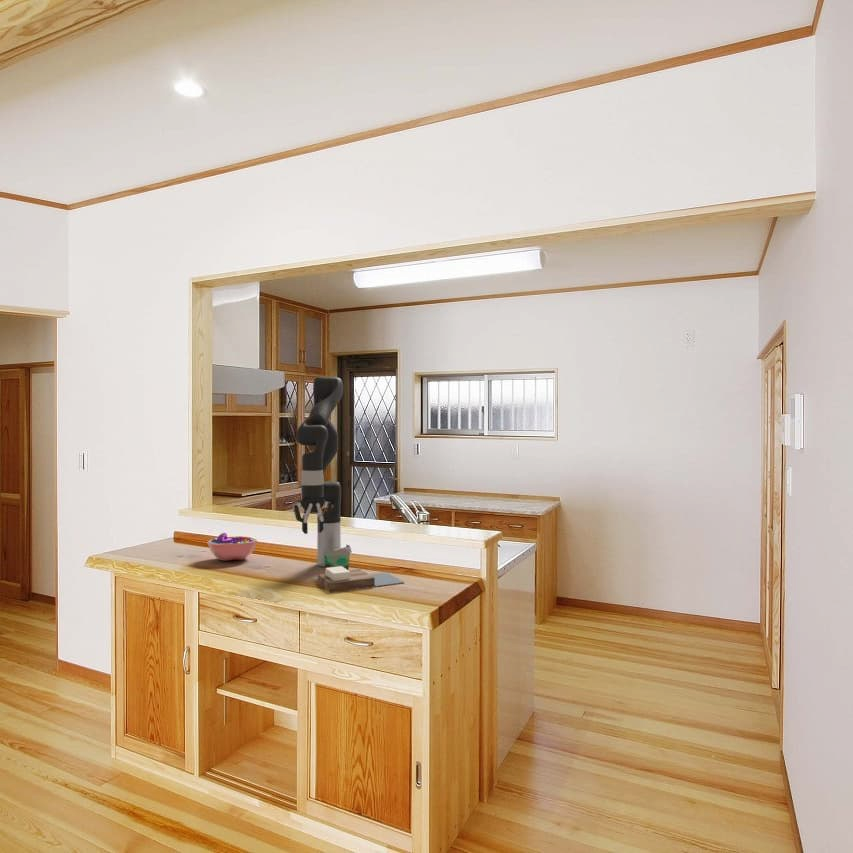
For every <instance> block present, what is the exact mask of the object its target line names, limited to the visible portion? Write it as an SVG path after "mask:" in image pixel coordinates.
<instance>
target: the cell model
mask: <svg viewBox="0 0 853 853" xmlns="http://www.w3.org/2000/svg"><path fill="white" fill-rule="evenodd" d="M206 543H207V545H208V547H209V550H210V552H211V554H212V555H213V556H214V557H215V558H216V559H219V560H220V561H223V562H229V561H235V560H238V561H241V560H244V559H246V558H247V557H249V556H250V555H251V554H252V553H253V552H254V550H255V549H256V545H257V543H258V539H256V538H253V537H250V536H242V535H241V536H228V534H227V533H226V532H222V533H220V534H219V535H218V536H217V538H216V537H215V538H211V539H209V540H208V541H207V542H206Z"/></svg>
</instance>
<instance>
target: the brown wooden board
mask: <svg viewBox="0 0 853 853" xmlns="http://www.w3.org/2000/svg"><path fill="white" fill-rule="evenodd" d="M349 571H350V579H345V580H337V581H333V580H332V579H330V578H329V577H328V576H326V572H324V573H323V572H322V573H318V574H317V584H319V585H321V586H322V587H323V588H324V589H326V590H327V591H328V592H330V593H334V592H342V591H347V590H348V591H350V589H351V590H357V589H356V588H358V589H364V587H366V588H372V586H373V587H375V578H374V577H372V576H371V575H369V574H370V573H367V572H366V571H364V570H362V569H361V568H358V569H350V570H349Z"/></svg>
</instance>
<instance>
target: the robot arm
mask: <svg viewBox="0 0 853 853" xmlns="http://www.w3.org/2000/svg"><path fill="white" fill-rule="evenodd" d="M313 380H314V381H313V383H312V386H313V387H312V391H313V393H312V394H313V395H312V396H313V407H312V408H311V410H310V413H309V415H308V418H306V419H305V420H304V421H303V422H301V424H300V425H299V426H298V428H297V431H296V436H295V437H296V440H297V442H298V444H299V445H301V446H310V447H311V446H313V448H314V450H313V451H311V452H310V451H309V452H305V453H303V454H302V458H301V462H302V463H301V482H300V483H301V489H300V490H301V491H300V493H301V495H300V496H301V500H300V501H299V502H298V503H296V504H295V503H293V504H292V509H293V513H294V516H295V518H296V519H295V520H296V521H298V522H300V523H301V531H302V532H303V534H305V535H307V534H308V522H307V521H308V519H309V517H310V514H312V513H315V514H316V516H317V518H316V521H317V523H316V524H317V526H316V527H317V533H316V534H317V536H316V538H317V542H316V543H317V545H316V546H317V547H316V548H317V549H316V550H317V557H316V558H317V560H316V561H317V566H318V567H322V568H325V560H324V555H323V551H324V549H325V550H333V549H335V548H342V547H341V546H342V544H341V542H342V539H341V538H342V537H341V536H342V535H341V534H342V533H341V531H342V530H341V528H342V526H341V524H342V523H341V521H342V520H341V507H342V506H341V502H342V486H341V483H340V482H339V481H334V480H333V481H325V480H324V478H325V477H324V475H325V473H326V470H327V469H328V468H329V465H330V464H331V462H332V461H333V460H334V458H335V456H336V455H337V453H338V449H339V433H338V431H337V428H336V427H335V425H334V424H333V422H332V421H331V419H330V417H331V415H332V413H333V412H334V410H335V409H336V407H337V405H338V404H339V403H340V402H341V400H342V397H343V393H344V384H343V380H342V379H341V378H339V377H337V376H335V377H334V376H316V377H315V378H314V379H313ZM301 507H302V509H303V513H302V516H301V512H300V510H301ZM323 507H324V508H325V509H324V512H323V511H322V509H323Z"/></svg>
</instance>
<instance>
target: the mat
mask: <svg viewBox="0 0 853 853" xmlns="http://www.w3.org/2000/svg"><path fill="white" fill-rule="evenodd" d="M368 574H369V575H371V576H372V577H374V578H375V586H374V588H378V587H377V586H380V587H386V586H385V585H387V586H393V585H394V584H395V585H401V584H402V585H403V584H405V582H404V581H403V580H401V579H399V578H398V577H396V576H394V575H392V574H390V573H389V572H387V571H384V572H377V573H368Z"/></svg>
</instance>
